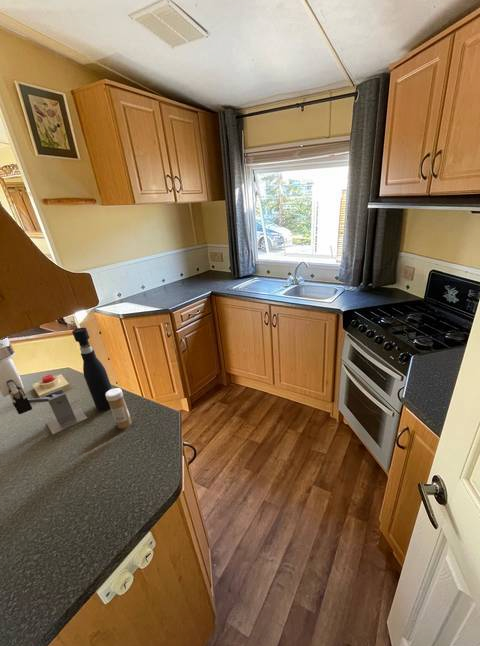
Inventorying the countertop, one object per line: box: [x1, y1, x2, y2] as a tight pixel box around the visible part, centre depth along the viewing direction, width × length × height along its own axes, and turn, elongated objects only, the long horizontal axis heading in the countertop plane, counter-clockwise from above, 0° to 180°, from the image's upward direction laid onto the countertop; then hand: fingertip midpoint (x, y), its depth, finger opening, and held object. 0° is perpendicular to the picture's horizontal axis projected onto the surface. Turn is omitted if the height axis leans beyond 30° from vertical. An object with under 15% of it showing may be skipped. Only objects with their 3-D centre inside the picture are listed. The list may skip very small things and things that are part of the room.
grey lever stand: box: [45, 388, 88, 436], centre depth 94 cm, size 10×8×12 cm
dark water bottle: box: [71, 327, 113, 412], centre depth 96 cm, size 6×6×30 cm
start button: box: [41, 374, 54, 383], centre depth 114 cm, size 4×4×2 cm
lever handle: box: [27, 394, 60, 404], centre depth 88 cm, size 12×3×3 cm, turn 137°
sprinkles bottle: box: [105, 387, 133, 429], centre depth 91 cm, size 5×5×14 cm
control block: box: [31, 373, 71, 398], centre depth 115 cm, size 12×10×4 cm
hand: (22, 404), depth 85 cm, fingers open, 9 cm apart
